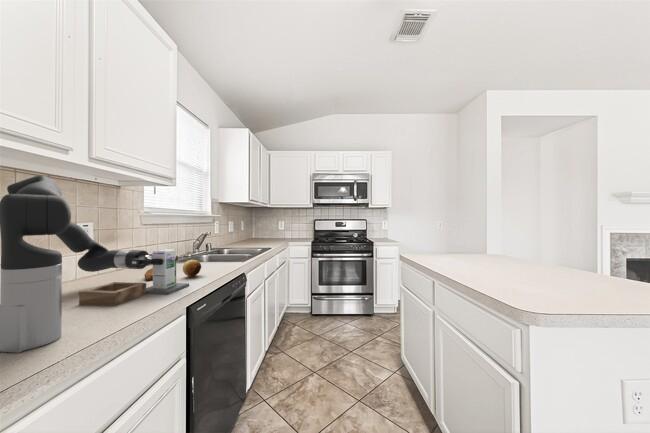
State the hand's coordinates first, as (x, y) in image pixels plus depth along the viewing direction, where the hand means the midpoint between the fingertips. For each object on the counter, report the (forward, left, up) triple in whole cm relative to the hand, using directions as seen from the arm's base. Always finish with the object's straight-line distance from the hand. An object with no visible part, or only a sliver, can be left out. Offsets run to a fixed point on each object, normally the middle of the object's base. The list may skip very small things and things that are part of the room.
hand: (170, 260), depth 103 cm
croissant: (+18, +21, -12) cm, 30 cm away
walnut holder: (-13, +11, -12) cm, 20 cm away
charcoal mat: (0, +2, -12) cm, 12 cm away
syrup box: (0, +2, -11) cm, 11 cm away
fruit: (+22, +5, -12) cm, 25 cm away
